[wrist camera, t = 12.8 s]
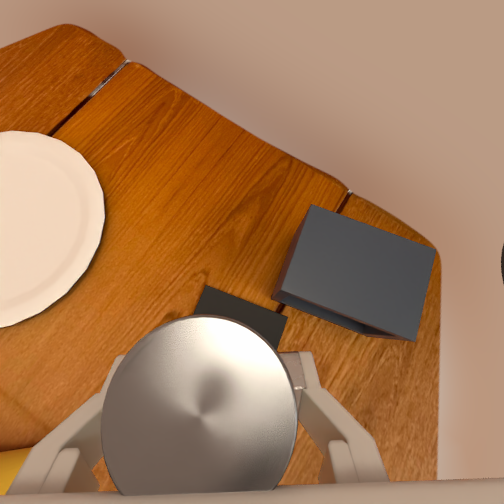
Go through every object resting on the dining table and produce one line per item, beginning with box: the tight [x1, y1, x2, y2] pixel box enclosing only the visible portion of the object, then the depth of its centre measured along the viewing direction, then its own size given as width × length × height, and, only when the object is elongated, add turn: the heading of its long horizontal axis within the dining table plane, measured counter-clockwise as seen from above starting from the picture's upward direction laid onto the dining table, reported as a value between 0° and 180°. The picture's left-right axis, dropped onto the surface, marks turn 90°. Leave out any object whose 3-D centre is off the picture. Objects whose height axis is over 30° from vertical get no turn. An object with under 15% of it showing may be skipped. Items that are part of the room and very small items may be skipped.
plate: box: [0, 131, 105, 328], centre depth 40 cm, size 29×29×2 cm
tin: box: [101, 314, 298, 496], centre depth 12 cm, size 5×5×10 cm
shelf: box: [271, 204, 436, 342], centre depth 35 cm, size 14×10×11 cm
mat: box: [193, 285, 288, 350], centre depth 38 cm, size 12×12×1 cm
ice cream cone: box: [0, 447, 33, 495], centre depth 32 cm, size 6×6×20 cm
